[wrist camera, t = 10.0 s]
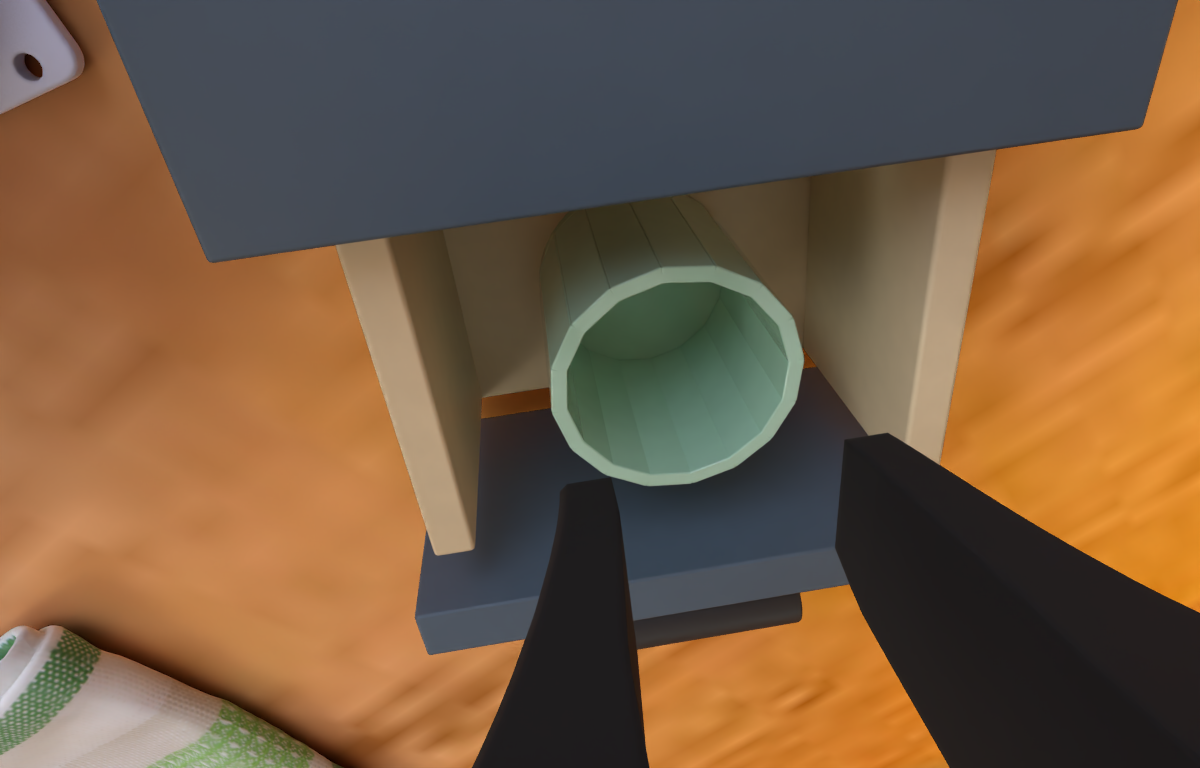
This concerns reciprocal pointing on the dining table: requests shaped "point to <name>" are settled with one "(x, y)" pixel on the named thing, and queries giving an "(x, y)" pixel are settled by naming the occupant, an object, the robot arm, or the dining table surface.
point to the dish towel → (122, 714)
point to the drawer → (686, 511)
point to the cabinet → (594, 100)
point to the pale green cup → (662, 342)
